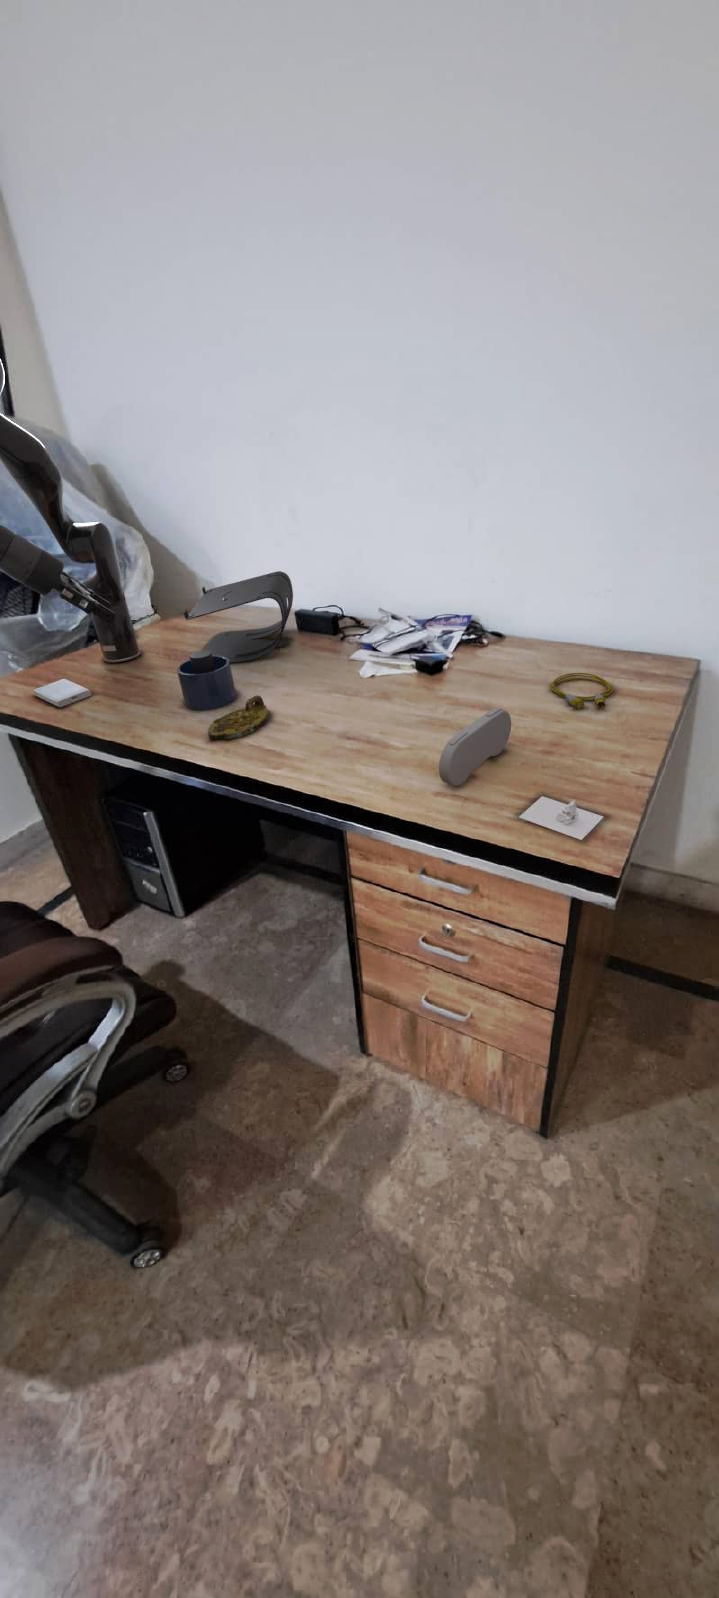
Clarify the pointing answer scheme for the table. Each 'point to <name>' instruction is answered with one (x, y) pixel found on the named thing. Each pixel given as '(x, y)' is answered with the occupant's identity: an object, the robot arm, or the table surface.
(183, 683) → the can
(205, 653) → the canister
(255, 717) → the bronze pendant
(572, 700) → the extension cord
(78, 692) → the hard drive
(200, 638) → the table surface
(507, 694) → the table surface
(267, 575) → the laptop stand
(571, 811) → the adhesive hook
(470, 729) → the game controller
